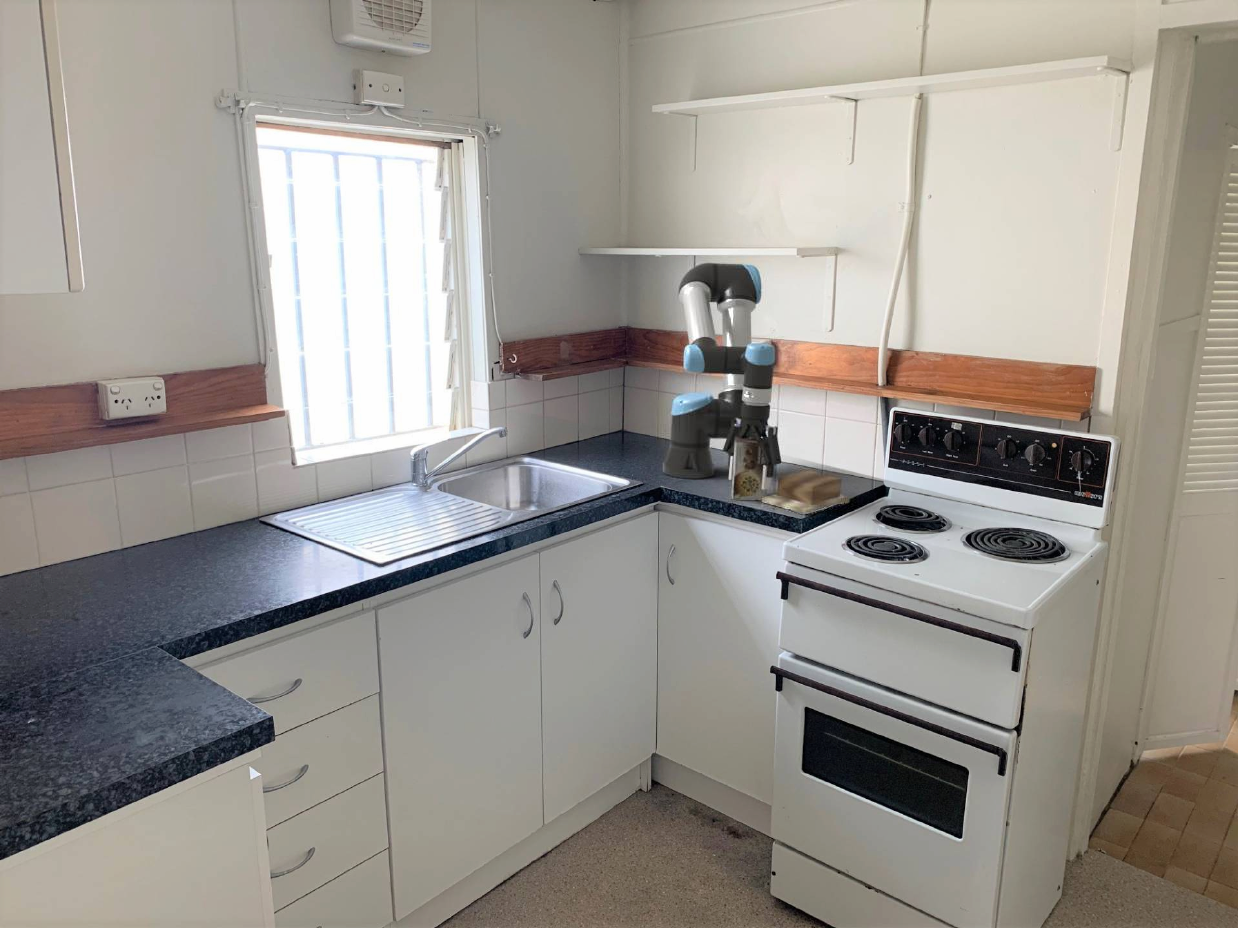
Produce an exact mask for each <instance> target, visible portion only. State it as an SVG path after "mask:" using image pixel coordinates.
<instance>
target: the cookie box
mask: <svg viewBox="0 0 1238 928" xmlns="http://www.w3.org/2000/svg"><path fill="white" fill-rule="evenodd" d="M765 444H766V445H767V446H768V447H769V442H768V443H765ZM765 464H766V462H765V459H764V456H763V454H762V451H761V448H760V446H759V443H758V442H757V441H756V439H754V438H752V437H746V438H738V437H735V446H734V461H733V477H732V480H731V492H730V494H731V499H732V500H735V501H736V500H740V501H755V500H759V501H760V502H762V501H761V500H762V497H765V496H767V492H768V491H767V490H768V489H764V490H763V489H761V488H762V477H763V466H764V465H765Z"/></svg>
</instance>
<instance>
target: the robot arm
mask: <svg viewBox="0 0 1238 928" xmlns="http://www.w3.org/2000/svg"><path fill="white" fill-rule="evenodd" d="M762 289H763V288H762V279H761V274H760V271H759V269H758V268H757V267H756V266H755V265H753V264H745V263H716V262H704V263H699V264H697V265H696V266H694V267H692V268H691V269H690V270H688V271H687V272H686V274H685V275H684V276H683V278H682V279H681V281H680V284H679V286H678V293H677V294H678V299H679V302H680V305H681V306H682V307H683V311H684V317H685V324H686V330H687V336H688V337H687V339H688V344H687V345H686V346H685V347H684V351H683V368H684V372H686V373H690V374H691V373H693V374H699V375H700V374H707V375H708V374H710V375H711V374H716V375H719V374H720V375H722V390H720V392H718V394H717V398H714V396H713V394H712V393H709V392H691V393H684V394H680V395H678V396H676V397H675V398H674V399H673V401H672V405H671V406H672V407H671V412H670V413H671V421H670V423H671V425H670V437H669V438H670V442H669V448H668V449H667V452H666V456H665V458H664V461H663V463H662V472H663V473H664V474H666V475H668V476H671V477H675V478H680V479H681V478H682V479H693V480H694V479H705V478H710V477H713V476H714V474H715V464H714V463H713V459H712V457H713V456H712V454H711V453H712V452H711V448H710V446H711V439H714V440H715V439H717V440H721V439H722V440H725V442H724V444H723V448H722V451H723V452H724V453H726V454H728V460H727V461H728V462H727V464H728V467H729V471H728V480H729V481H732V477H733V461H734V446H735V437H738V438H746V437H752V438H754V439H756V441H757V442H758V443H759V446H760V448H761V451H762V454H763V456H764V459H765V462H766V464H765V465H764V466H763V477H762V488H761V489H763V490H764V489H767V490H768V489H770V488H771V481H772V478H773V477H774V472H775V466H777V465H780V464H782V457H781V452H780V451H781V450H780V444H779V440H778V429H779V427H778V426H777V425H776V426H771V425H769V421H768V420H769V419H770V415H771V413H770V412H771V405H770V404H771V403H772V393H773V391H772V390H773V379H774V370H775V369H774V368H775V361H776V348H775V346H774V345H772V344H768V343H761V342H760V343H758V342H754V343H752V312H753V311H755V309H756V307H757V304H759V303H760V302H761V300H762ZM710 303H715V304H716V310H717V311H718V312H720V313H721V317H722V318H721V319H722V320H721V321H722V322H721V323H722V327H721V328H722V345H718V343H717V336H716V329H715V326H714V319H713V314H712V309H711V304H710ZM768 442H769V447H768V446H767V445H766V444H765V443H768Z"/></svg>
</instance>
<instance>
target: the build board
mask: <svg viewBox="0 0 1238 928" xmlns="http://www.w3.org/2000/svg"><path fill="white" fill-rule="evenodd" d="M850 498H851V497H850V496H846V495H843V494H840V497H837V498H833V499H830V500H826V501H823V502H819V503H816V504H812V505H810V504H806V503H803V502H799V501H796V500H792V499H789V498H785V497H782V496H778V495H777V492H776V493H773V494H769V495H766V496H765V497H762V501H761V502H764V503H769V504H771V505H776V506H778V507H783V508H785V509H791V510H794V511H799V512H804V513H806V512H811V511H815V510H818V509H822V508H824V507H829V506H831V505H835V504H842V505H845V504H849V503H850ZM764 503H763V504H764ZM844 503H845V504H844ZM771 505H770V506H771ZM778 507H777V508H778Z"/></svg>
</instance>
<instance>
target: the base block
mask: <svg viewBox="0 0 1238 928" xmlns="http://www.w3.org/2000/svg"><path fill="white" fill-rule="evenodd" d="M777 478H778V479H777V480H778V481H777V490H776V493H777V495H778V496H782V497H785V498H789V499H792V500H796V501H799V502H803V503H806V504H810V505H812V504H816V503H819V502H823V501H826V500H830V499H833V498H837V497H840V495H841V487H842V478H840V477H836V476H832V475H828V474H825V473H820V472H817V471H813V470H809V469H807V470H802V471H798V472H793V473H790V474H786V475H782V476H778V477H777Z"/></svg>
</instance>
